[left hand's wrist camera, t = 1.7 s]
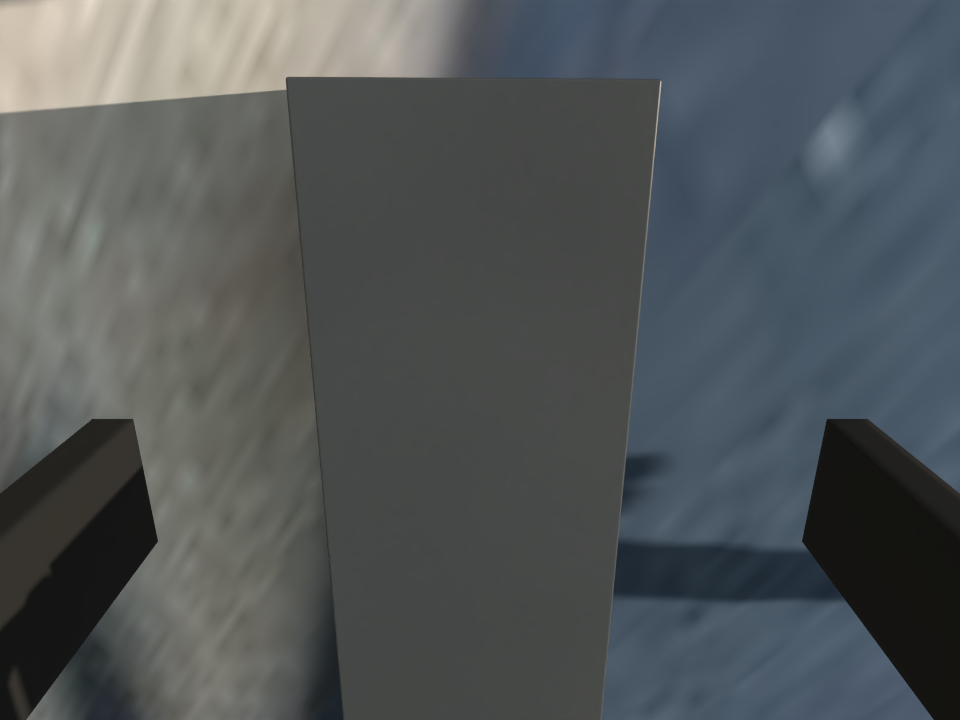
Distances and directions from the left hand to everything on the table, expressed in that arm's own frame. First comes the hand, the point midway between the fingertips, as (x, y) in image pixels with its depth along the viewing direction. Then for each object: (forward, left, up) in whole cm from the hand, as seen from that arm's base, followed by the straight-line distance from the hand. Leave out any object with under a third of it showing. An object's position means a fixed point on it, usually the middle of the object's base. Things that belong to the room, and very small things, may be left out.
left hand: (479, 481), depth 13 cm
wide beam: (+19, +14, -14) cm, 27 cm away
